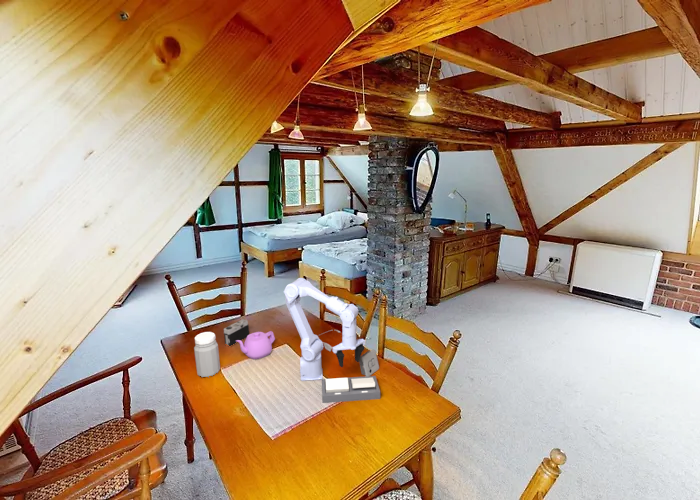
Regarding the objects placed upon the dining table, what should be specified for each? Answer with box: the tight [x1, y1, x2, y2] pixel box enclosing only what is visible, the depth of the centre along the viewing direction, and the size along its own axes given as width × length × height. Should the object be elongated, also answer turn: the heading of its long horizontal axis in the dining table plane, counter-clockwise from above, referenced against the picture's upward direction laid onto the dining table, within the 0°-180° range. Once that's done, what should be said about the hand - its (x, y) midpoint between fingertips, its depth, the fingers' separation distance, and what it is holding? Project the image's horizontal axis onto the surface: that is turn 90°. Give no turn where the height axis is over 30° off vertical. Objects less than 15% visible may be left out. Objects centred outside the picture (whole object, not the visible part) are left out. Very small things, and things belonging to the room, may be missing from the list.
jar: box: [193, 331, 221, 378], centre depth 150 cm, size 10×10×18 cm
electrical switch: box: [358, 349, 380, 377], centre depth 152 cm, size 9×5×9 cm, turn 141°
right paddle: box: [351, 378, 375, 388], centre depth 139 cm, size 9×6×2 cm, turn 96°
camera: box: [223, 318, 250, 347], centre depth 181 cm, size 14×9×10 cm, turn 144°
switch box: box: [321, 375, 381, 404], centre depth 139 cm, size 23×11×3 cm, turn 96°
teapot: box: [236, 330, 276, 360], centre depth 167 cm, size 13×20×11 cm, turn 132°
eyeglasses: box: [319, 329, 341, 352], centre depth 179 cm, size 15×18×4 cm
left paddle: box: [325, 377, 349, 393], centre depth 137 cm, size 9×6×2 cm, turn 96°
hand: (349, 363), depth 142 cm, fingers open, 7 cm apart
